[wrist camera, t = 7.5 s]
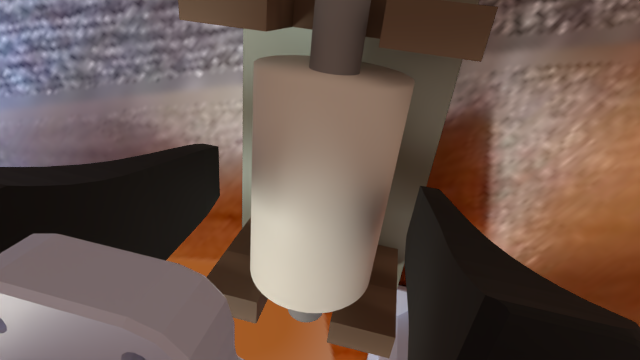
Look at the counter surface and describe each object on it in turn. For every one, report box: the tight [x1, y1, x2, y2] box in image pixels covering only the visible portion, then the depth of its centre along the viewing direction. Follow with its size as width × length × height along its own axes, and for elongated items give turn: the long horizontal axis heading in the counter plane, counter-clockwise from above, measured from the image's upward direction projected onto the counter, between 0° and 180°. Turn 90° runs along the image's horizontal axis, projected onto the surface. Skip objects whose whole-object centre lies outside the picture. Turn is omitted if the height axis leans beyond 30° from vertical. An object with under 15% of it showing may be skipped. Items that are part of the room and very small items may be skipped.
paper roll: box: [250, 0, 415, 322], centre depth 13 cm, size 13×5×5 cm, turn 174°
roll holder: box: [178, 0, 498, 358], centre depth 14 cm, size 16×9×6 cm, turn 174°
